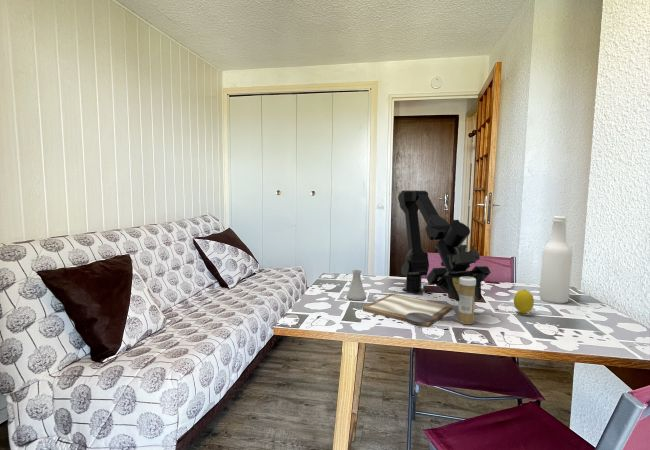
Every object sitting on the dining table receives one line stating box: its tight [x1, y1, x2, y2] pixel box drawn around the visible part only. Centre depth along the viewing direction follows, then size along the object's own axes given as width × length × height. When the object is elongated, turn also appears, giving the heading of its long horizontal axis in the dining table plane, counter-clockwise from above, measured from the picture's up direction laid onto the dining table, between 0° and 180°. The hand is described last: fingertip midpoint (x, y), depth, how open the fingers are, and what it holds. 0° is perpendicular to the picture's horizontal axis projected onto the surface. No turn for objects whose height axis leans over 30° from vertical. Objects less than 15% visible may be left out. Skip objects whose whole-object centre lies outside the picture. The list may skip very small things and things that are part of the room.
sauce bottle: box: [447, 242, 469, 299], centre depth 129 cm, size 7×6×20 cm
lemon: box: [513, 288, 535, 315], centre depth 113 cm, size 6×6×8 cm
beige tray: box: [362, 293, 453, 328], centre depth 116 cm, size 21×22×1 cm
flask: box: [346, 269, 367, 301], centre depth 128 cm, size 7×7×10 cm
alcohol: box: [539, 215, 573, 305], centre depth 126 cm, size 9×9×30 cm
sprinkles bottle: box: [457, 276, 476, 325], centre depth 105 cm, size 5×5×14 cm
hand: (469, 300), depth 104 cm, fingers open, 7 cm apart
